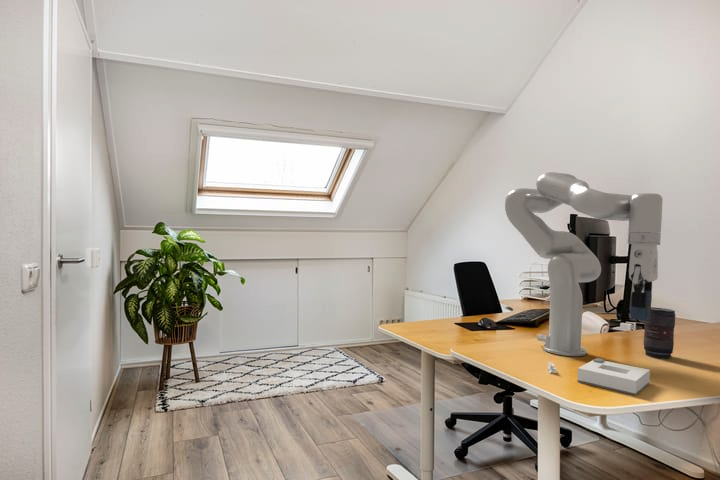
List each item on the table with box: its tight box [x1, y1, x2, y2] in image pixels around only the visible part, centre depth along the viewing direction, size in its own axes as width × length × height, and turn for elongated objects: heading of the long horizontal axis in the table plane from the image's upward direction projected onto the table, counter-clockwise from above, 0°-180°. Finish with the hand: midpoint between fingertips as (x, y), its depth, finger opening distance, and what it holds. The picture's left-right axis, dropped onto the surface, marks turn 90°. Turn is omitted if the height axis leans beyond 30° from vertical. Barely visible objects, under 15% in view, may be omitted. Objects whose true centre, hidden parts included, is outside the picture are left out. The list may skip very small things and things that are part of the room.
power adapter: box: [547, 361, 558, 374], centre depth 123 cm, size 3×3×3 cm
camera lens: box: [643, 306, 676, 360], centre depth 143 cm, size 8×8×15 cm
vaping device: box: [629, 279, 653, 322], centre depth 124 cm, size 3×5×12 cm, turn 23°
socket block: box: [577, 357, 651, 396], centre depth 116 cm, size 13×13×4 cm
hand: (640, 305), depth 124 cm, fingers closed on vaping device, 3 cm apart
